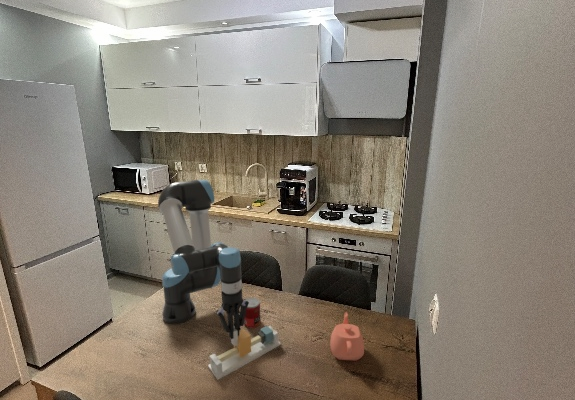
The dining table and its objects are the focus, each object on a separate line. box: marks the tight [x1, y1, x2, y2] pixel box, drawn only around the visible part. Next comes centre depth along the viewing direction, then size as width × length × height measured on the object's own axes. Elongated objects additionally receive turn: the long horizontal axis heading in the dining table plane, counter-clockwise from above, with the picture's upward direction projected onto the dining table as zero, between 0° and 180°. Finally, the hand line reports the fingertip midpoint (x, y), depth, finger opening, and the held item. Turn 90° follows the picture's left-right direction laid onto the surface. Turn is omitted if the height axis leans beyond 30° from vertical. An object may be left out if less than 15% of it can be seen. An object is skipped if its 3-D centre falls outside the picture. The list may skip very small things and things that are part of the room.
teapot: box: [329, 311, 365, 362], centre depth 126 cm, size 13×20×12 cm, turn 175°
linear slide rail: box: [207, 325, 282, 380], centre depth 125 cm, size 8×29×7 cm, turn 129°
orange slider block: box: [233, 328, 252, 358], centre depth 123 cm, size 5×5×8 cm
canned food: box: [243, 297, 261, 329], centre depth 144 cm, size 8×8×11 cm
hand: (234, 343), depth 121 cm, fingers closed
